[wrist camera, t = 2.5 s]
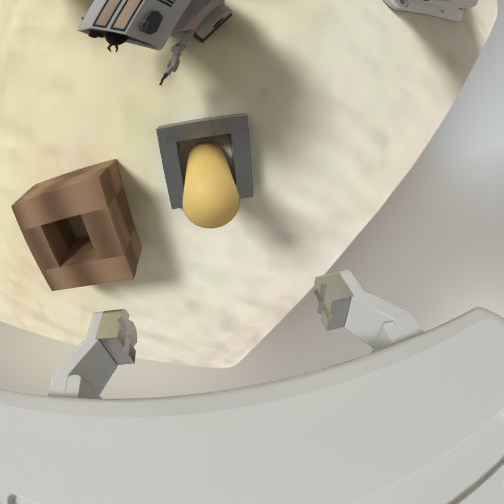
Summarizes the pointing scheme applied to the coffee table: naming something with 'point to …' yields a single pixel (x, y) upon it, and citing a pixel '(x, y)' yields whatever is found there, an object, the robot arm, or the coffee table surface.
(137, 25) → the figurine
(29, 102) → the coffee table surface
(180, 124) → the collar
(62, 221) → the socket
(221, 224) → the pin
